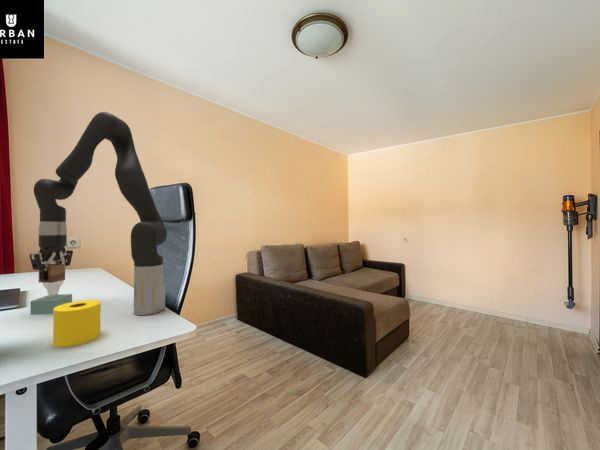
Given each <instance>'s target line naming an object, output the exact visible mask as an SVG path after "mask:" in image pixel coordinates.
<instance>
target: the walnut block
mask: <svg viewBox="0 0 600 450" xmlns="http://www.w3.org/2000/svg"><path fill="white" fill-rule="evenodd" d="M47 271H48V281H41V280H40V271H39V270H38V283H41V284H43V283H53V282H57V281H62V280H64V281H65V280H66V267H65V264H56V263H52V264H51V265H50V266H49V268H48V270H47Z"/></svg>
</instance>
